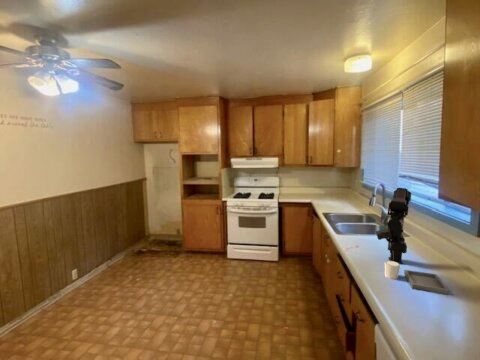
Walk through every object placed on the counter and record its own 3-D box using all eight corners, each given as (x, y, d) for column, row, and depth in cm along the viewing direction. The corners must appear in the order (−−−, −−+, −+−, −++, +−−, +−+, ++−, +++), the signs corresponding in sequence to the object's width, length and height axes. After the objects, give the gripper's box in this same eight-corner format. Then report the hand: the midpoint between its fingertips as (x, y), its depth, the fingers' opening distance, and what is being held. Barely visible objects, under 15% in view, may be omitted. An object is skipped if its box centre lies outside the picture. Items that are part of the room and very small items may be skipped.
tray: (404, 273, 141) (404, 269, 141) (436, 278, 137) (436, 274, 137) (412, 288, 126) (412, 284, 126) (448, 294, 122) (448, 290, 122)
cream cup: (384, 272, 143) (386, 259, 142) (400, 276, 139) (401, 263, 138) (381, 276, 138) (383, 263, 137) (397, 281, 133) (398, 267, 132)
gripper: (375, 219, 146) (372, 247, 148) (380, 229, 129) (377, 261, 131) (399, 221, 143) (396, 250, 145) (407, 232, 125) (404, 265, 127)
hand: (393, 256), depth 137 cm, fingers open, 9 cm apart
